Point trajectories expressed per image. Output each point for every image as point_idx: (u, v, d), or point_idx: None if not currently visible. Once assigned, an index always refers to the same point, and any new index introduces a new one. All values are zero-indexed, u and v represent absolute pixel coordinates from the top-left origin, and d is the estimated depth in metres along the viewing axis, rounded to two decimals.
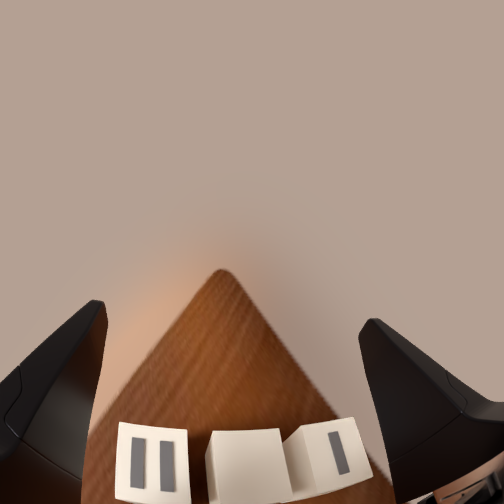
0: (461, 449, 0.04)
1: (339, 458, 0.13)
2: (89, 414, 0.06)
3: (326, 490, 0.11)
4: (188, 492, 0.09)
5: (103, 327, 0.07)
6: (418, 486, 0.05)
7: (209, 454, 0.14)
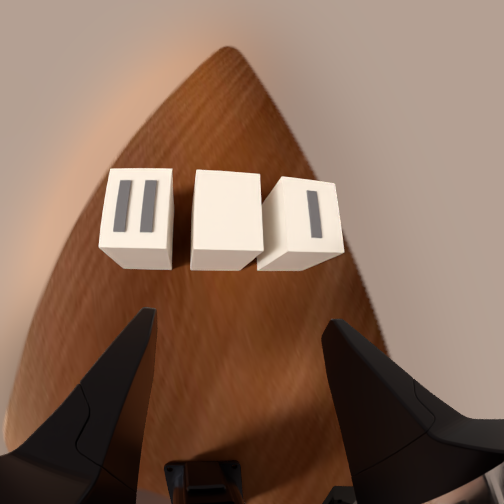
0: (425, 472, 0.04)
1: (313, 219, 0.17)
2: (144, 424, 0.06)
3: (296, 250, 0.16)
4: (165, 232, 0.15)
5: (155, 334, 0.07)
6: None
7: (193, 201, 0.19)
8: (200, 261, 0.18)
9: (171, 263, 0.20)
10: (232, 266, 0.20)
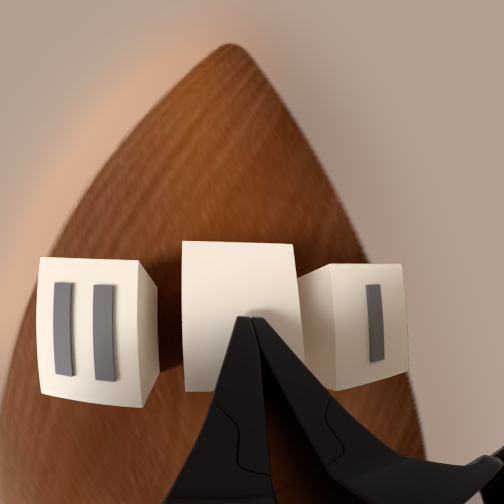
0: None
1: (374, 332, 0.10)
2: None
3: (348, 386, 0.09)
4: (137, 381, 0.08)
5: None
6: None
7: None
8: None
9: (158, 369, 0.13)
10: None
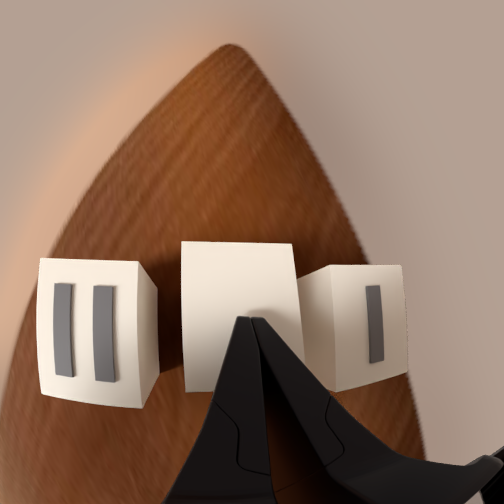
0: None
1: (374, 333, 0.10)
2: None
3: (348, 387, 0.09)
4: (137, 382, 0.08)
5: None
6: None
7: None
8: None
9: (158, 369, 0.13)
10: None
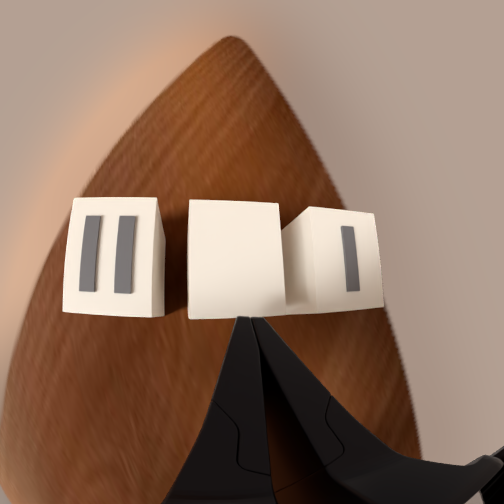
0: None
1: (349, 266, 0.13)
2: None
3: (328, 310, 0.12)
4: (149, 293, 0.10)
5: None
6: None
7: None
8: None
9: (163, 310, 0.16)
10: None
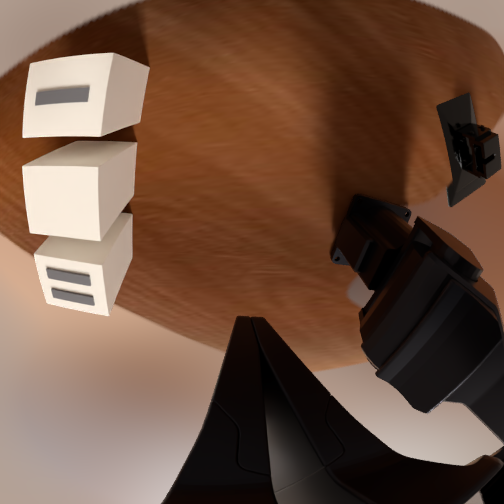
0: None
1: (67, 95, 0.09)
2: None
3: (100, 123, 0.10)
4: (87, 264, 0.13)
5: None
6: None
7: None
8: (119, 205, 0.15)
9: (125, 217, 0.19)
10: (128, 160, 0.16)
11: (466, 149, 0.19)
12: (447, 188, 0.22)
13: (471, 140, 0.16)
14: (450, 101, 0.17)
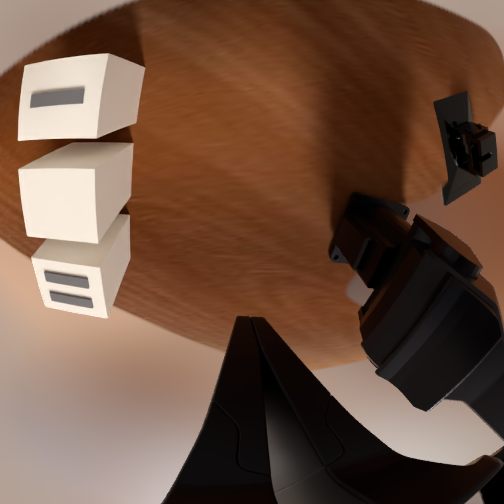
0: None
1: (62, 97, 0.09)
2: None
3: (96, 125, 0.10)
4: (85, 267, 0.13)
5: None
6: None
7: None
8: (116, 207, 0.15)
9: (122, 218, 0.19)
10: (124, 161, 0.15)
11: (462, 147, 0.19)
12: None
13: (468, 137, 0.16)
14: (447, 98, 0.17)
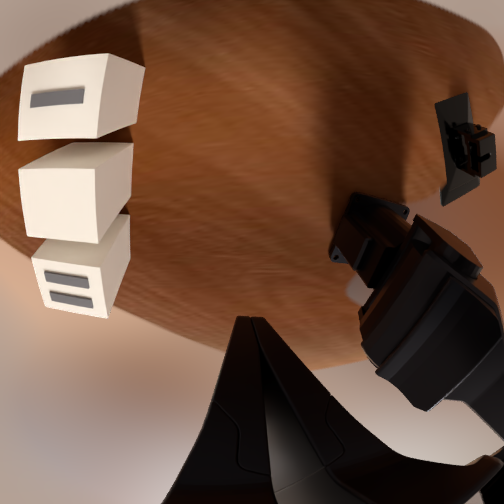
0: None
1: (62, 97, 0.09)
2: None
3: (96, 125, 0.10)
4: (85, 267, 0.13)
5: None
6: None
7: None
8: (116, 207, 0.15)
9: (122, 218, 0.19)
10: (124, 161, 0.15)
11: (461, 148, 0.19)
12: None
13: (467, 137, 0.16)
14: None
